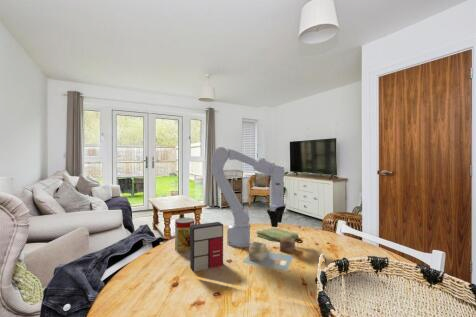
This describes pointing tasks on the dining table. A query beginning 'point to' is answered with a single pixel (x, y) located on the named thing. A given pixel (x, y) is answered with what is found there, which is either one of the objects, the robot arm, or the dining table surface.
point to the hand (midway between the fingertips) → (276, 224)
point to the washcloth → (276, 234)
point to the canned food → (183, 234)
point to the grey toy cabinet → (206, 246)
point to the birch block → (257, 251)
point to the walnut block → (287, 245)
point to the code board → (273, 261)
